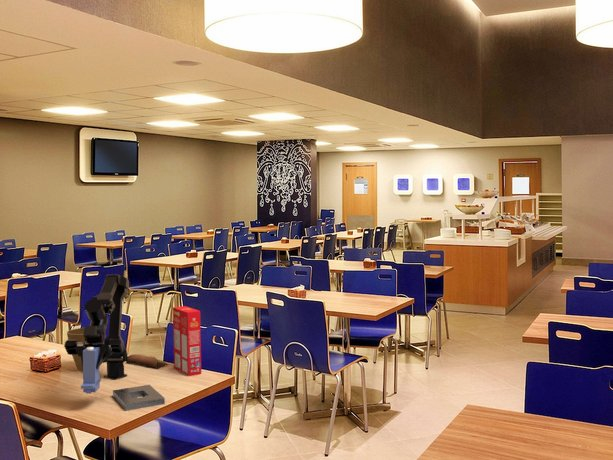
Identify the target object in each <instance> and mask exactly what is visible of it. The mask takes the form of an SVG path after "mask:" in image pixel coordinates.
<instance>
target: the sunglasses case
mask: <svg viewBox="0 0 613 460" xmlns="http://www.w3.org/2000/svg"><path fill="white" fill-rule="evenodd" d="M125 363H126V364H138V365H142V366H147V367H152V368H156V369H157V370H158V369H159V370H160V369H161V368H165V367H168V366H170V364H169V363H168V362H166V361H164V360H161V359H157V358H156V357H155V356H151V355H150V356H148V355H145V354H129V355H128V361H125Z"/></svg>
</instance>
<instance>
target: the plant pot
mask: <svg viewBox="0 0 613 460" xmlns="http://www.w3.org/2000/svg"><path fill="white" fill-rule="evenodd" d="M83 331H84V327H79V328H74V329H69V330H68V331H66V336H67V340H78V342H84V343H86V342H87V341H85V340H84V338H85V336H83ZM99 353H100V349H99ZM72 359H73V362H74V365H75V367H76V368H77V371H79V372H83V367H82V361H81V356H78V354H77V355H72Z"/></svg>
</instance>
